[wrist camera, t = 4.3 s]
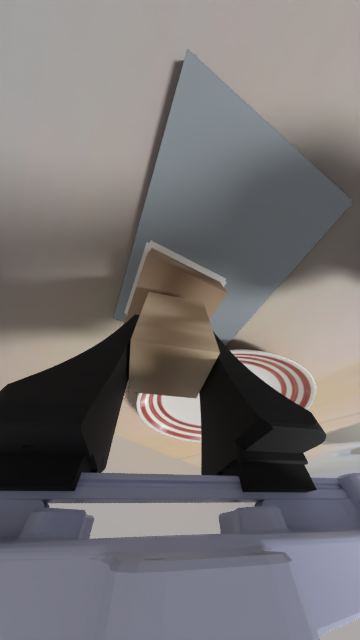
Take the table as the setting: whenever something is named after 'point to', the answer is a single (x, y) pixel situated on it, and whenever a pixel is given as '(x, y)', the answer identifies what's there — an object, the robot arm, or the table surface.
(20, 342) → the table surface
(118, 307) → the build board
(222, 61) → the table surface
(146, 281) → the walnut slab
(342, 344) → the table surface
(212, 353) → the oak block
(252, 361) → the dinner plate
